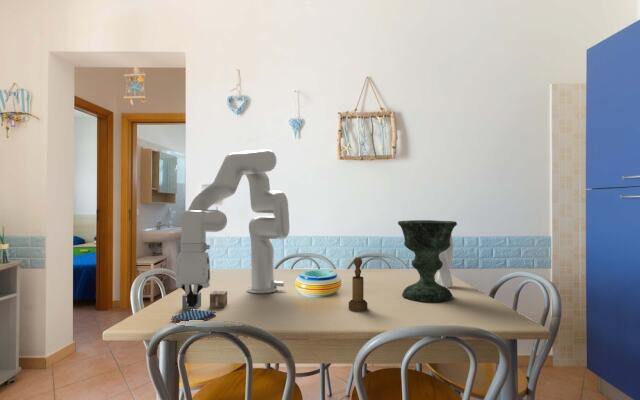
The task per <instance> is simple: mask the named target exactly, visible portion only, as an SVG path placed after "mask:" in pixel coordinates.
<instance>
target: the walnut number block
mask: <svg viewBox="0 0 640 400" xmlns="http://www.w3.org/2000/svg"><path fill="white" fill-rule="evenodd" d="M227 305H228V291H227V290H213V291H212V292H210V294H209V309H224V308H225V307H227Z"/></svg>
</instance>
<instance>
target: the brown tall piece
mask: <svg viewBox="0 0 640 400" xmlns="http://www.w3.org/2000/svg"><path fill="white" fill-rule="evenodd" d="M353 264H354V266H355V269H354V276H352V277H351V278H352V279H351V280H352V281H351V282H352V287H351V289H352V295H351V296H352V297H351V298H352V299H351V300H349V301H348V310H349V311H351V312H366V311H368V307H369V306H368V302H367V301H366V300H365V299H364V276H361V274H362V269H361V266H362V264H363V259H362V258H361V257H355V258H354V259H353Z"/></svg>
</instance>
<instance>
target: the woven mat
mask: <svg viewBox="0 0 640 400" xmlns="http://www.w3.org/2000/svg"><path fill="white" fill-rule="evenodd" d="M184 311H185V310H184ZM216 313H217V312H216V311H212V310H210V311H208V310H201V309H197V310H193V309H192V310H186V311H185V312H181V313H178V314H175V315H174V316H171V318H170V323H172V321H173V322H174V323H176V322H178V323H180V322H179V321H189V320H206V321H208V320H209V319H208V318H210V319H212V318H214V317H216V316H217V314H216ZM213 316H214V317H213ZM211 317H212V318H211Z"/></svg>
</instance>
